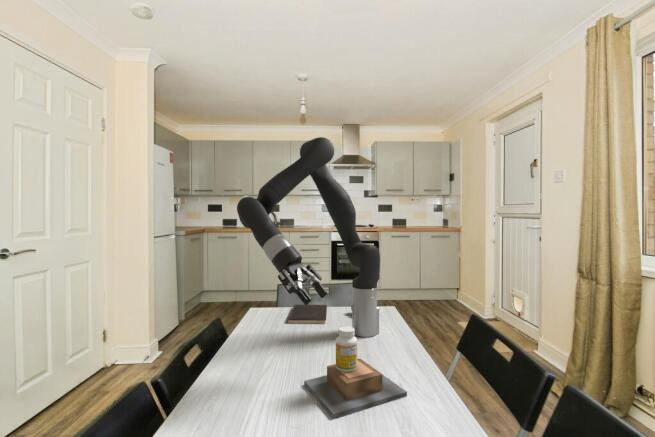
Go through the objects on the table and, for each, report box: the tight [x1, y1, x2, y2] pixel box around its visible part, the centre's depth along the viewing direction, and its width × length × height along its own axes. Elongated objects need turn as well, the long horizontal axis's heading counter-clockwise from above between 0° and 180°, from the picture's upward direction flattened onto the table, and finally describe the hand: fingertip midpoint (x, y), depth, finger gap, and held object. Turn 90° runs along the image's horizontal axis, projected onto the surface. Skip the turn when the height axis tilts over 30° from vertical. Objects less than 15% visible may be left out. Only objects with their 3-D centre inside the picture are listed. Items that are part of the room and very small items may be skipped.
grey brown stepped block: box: [303, 358, 408, 420], centre depth 81 cm, size 20×16×5 cm
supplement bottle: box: [335, 325, 358, 372], centre depth 82 cm, size 5×5×10 cm
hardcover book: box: [286, 304, 328, 325], centre depth 144 cm, size 16×23×2 cm
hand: (317, 299), depth 86 cm, fingers open, 8 cm apart
